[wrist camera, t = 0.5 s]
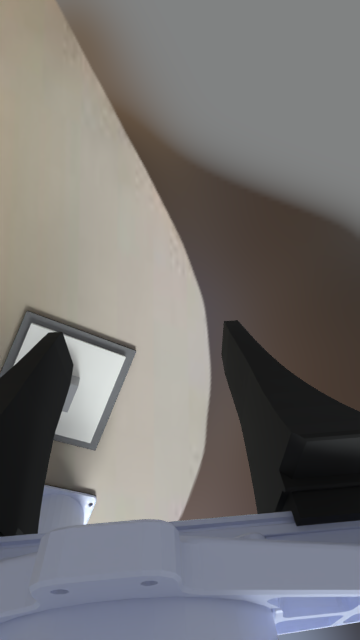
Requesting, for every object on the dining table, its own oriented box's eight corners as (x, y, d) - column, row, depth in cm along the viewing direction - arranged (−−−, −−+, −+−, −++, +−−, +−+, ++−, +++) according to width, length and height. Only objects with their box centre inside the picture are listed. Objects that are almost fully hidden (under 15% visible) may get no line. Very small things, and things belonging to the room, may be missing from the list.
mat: (95, 448, 37) (95, 450, 36) (-19, 419, 33) (-20, 421, 33) (135, 350, 37) (136, 351, 36) (27, 310, 33) (26, 311, 33)
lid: (90, 440, 36) (89, 457, 32) (-7, 415, 33) (-20, 430, 29) (125, 356, 36) (128, 363, 33) (32, 322, 33) (24, 326, 29)
